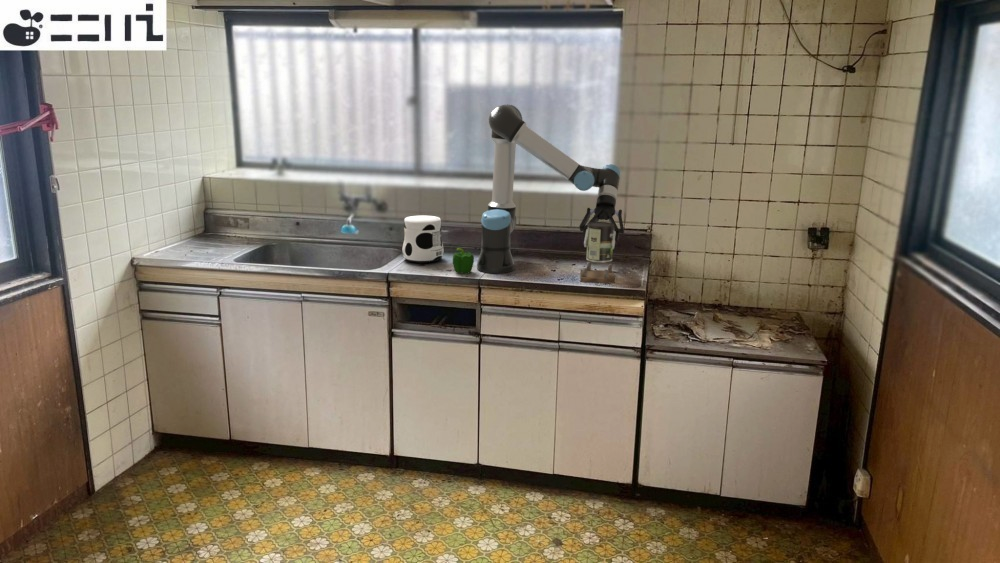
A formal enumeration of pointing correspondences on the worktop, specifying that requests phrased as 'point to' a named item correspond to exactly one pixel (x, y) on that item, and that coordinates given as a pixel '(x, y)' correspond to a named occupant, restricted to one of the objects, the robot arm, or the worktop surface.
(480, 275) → the worktop surface
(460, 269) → the bell pepper
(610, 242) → the coffee can
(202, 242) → the worktop surface
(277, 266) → the worktop surface
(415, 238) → the milk container
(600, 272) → the can seat
